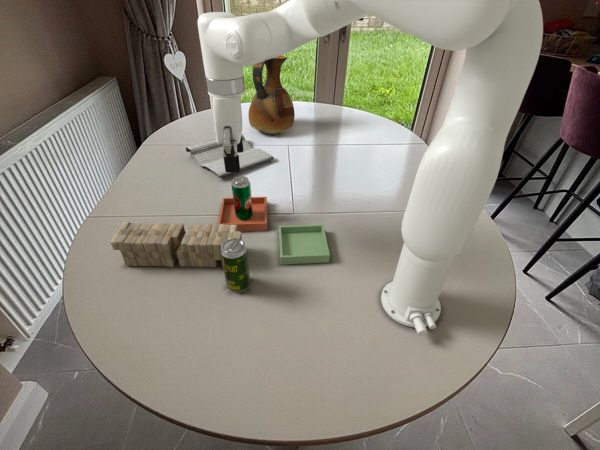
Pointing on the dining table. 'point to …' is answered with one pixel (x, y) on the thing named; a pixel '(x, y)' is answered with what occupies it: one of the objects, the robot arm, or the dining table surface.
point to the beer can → (235, 265)
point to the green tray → (303, 244)
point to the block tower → (172, 243)
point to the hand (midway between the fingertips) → (235, 161)
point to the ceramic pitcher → (270, 99)
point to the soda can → (242, 197)
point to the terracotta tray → (252, 224)
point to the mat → (213, 158)
